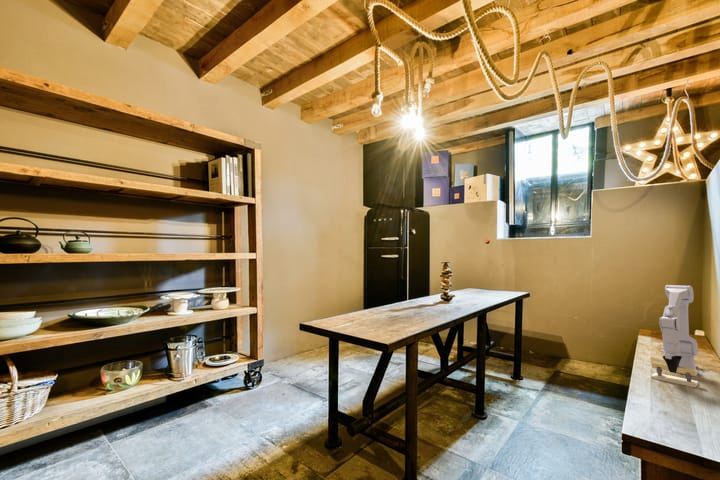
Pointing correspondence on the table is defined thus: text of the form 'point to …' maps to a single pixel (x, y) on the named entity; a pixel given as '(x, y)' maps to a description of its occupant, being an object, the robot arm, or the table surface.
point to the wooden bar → (679, 369)
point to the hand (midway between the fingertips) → (673, 371)
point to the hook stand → (675, 378)
